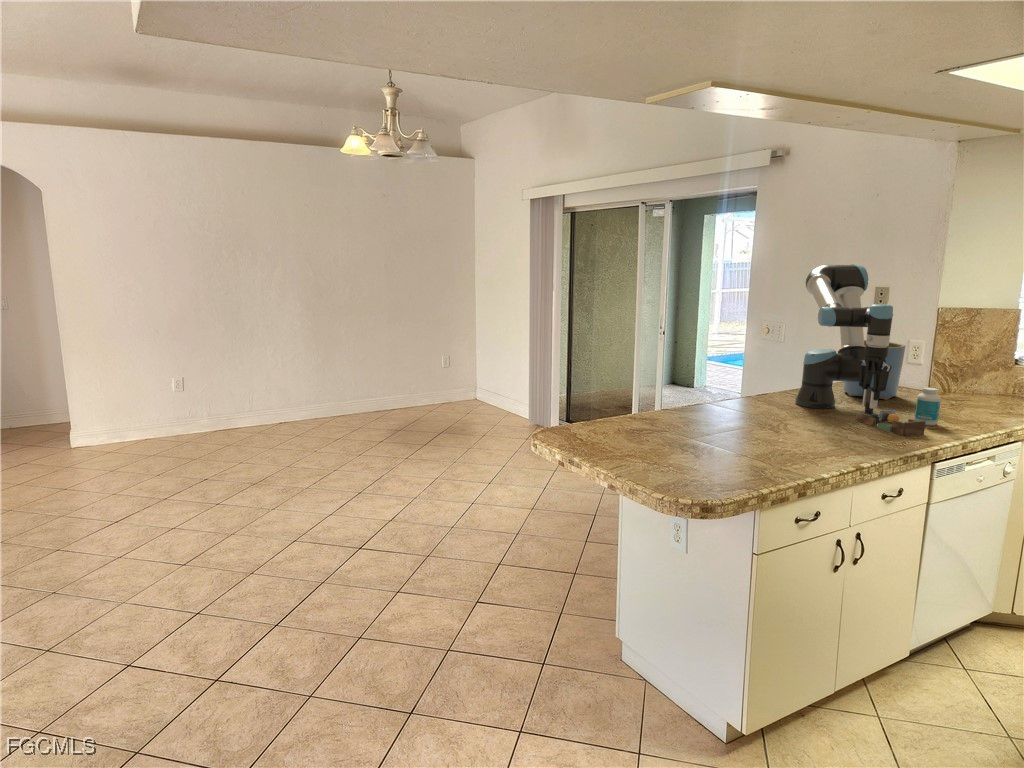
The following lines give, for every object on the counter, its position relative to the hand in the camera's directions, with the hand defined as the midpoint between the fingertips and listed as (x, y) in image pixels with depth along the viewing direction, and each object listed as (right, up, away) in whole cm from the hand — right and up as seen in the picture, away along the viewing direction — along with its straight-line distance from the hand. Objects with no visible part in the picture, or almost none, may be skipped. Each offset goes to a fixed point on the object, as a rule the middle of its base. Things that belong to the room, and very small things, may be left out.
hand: (869, 406), depth 238 cm
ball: (+3, -4, -10) cm, 11 cm away
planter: (+25, +4, +44) cm, 51 cm away
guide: (0, -6, -1) cm, 6 cm away
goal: (+5, -9, -16) cm, 19 cm away
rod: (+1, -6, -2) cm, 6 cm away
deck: (+3, -8, -10) cm, 13 cm away
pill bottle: (+20, -6, -3) cm, 21 cm away
